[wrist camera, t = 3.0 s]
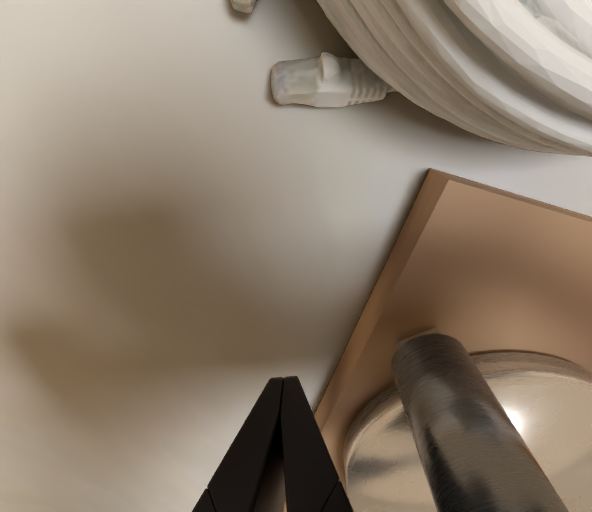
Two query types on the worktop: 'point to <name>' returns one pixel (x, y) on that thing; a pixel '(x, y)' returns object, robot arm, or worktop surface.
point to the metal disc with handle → (473, 433)
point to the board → (468, 290)
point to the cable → (460, 66)
